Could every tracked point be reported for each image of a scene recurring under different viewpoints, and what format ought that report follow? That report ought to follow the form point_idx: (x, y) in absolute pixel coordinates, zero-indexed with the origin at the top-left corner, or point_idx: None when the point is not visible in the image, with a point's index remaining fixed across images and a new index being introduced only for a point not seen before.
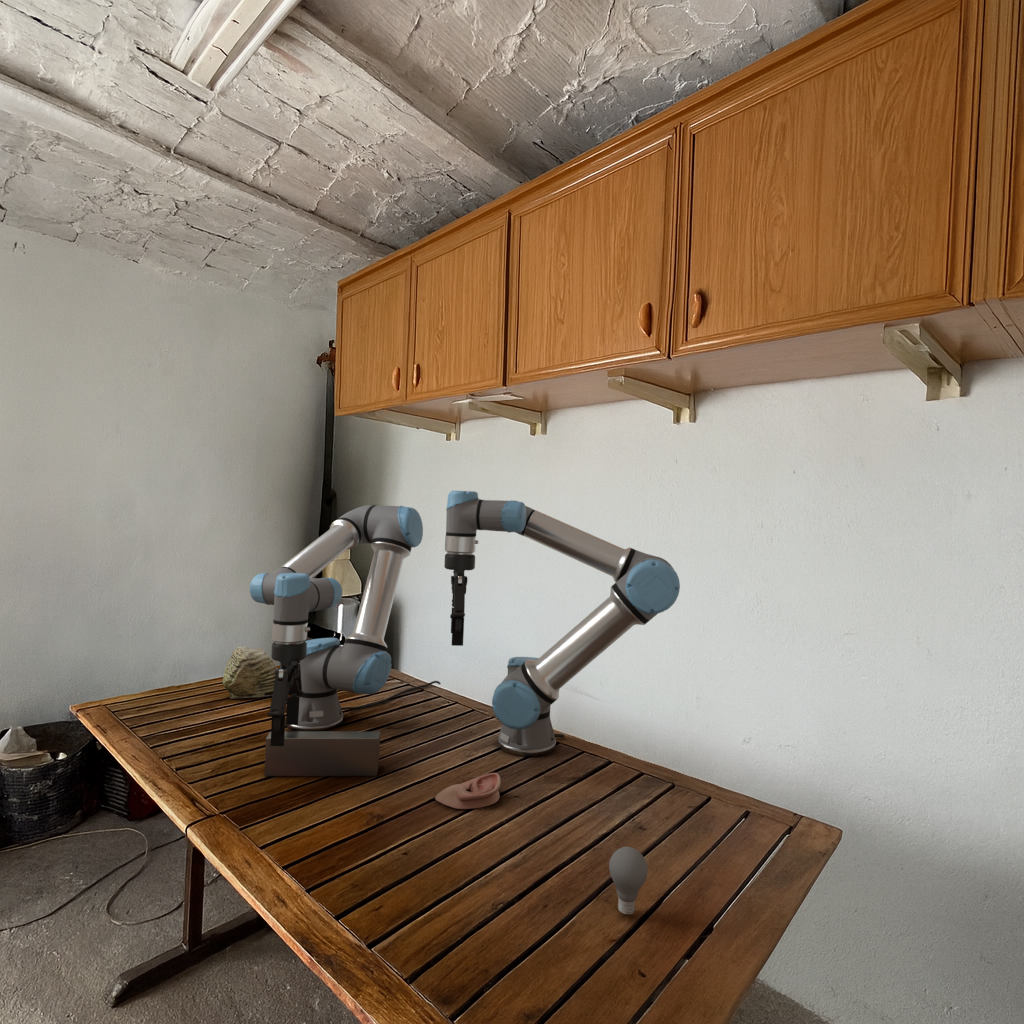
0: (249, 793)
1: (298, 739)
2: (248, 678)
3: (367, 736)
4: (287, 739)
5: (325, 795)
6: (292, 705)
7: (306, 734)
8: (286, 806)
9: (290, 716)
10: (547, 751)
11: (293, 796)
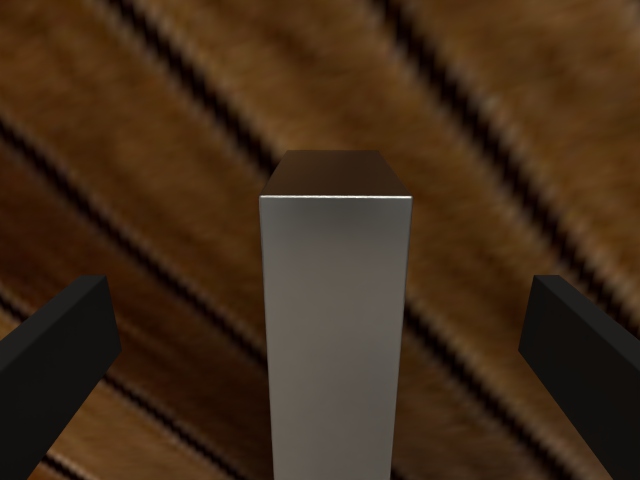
0: (117, 131)
1: (271, 390)
2: None
3: None
4: (266, 332)
5: (143, 396)
6: (629, 432)
7: (338, 424)
8: (41, 296)
9: (563, 342)
10: None
11: (119, 303)
